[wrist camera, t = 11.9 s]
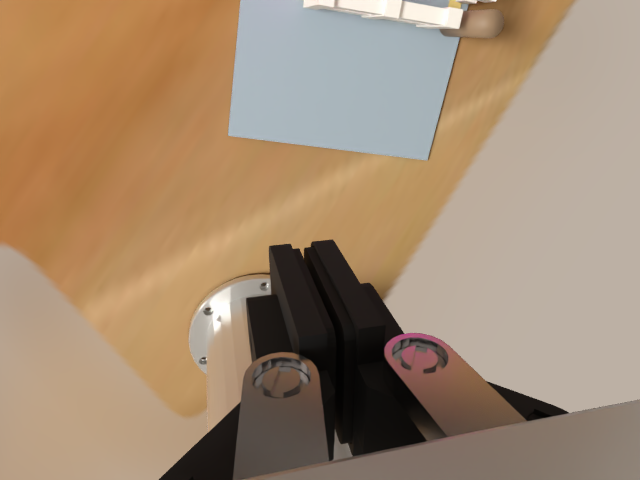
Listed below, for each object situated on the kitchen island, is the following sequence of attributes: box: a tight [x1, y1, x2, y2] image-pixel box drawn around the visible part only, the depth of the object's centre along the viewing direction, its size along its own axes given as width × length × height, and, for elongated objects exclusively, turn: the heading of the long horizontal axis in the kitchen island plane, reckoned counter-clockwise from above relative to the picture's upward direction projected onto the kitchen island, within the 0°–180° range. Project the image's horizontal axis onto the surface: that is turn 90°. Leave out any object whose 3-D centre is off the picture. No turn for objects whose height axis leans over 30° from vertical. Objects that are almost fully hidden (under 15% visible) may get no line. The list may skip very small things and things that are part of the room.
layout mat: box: [228, 0, 468, 160], centre depth 36 cm, size 16×18×1 cm
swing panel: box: [303, 0, 463, 29], centre depth 32 cm, size 10×1×5 cm, turn 82°
